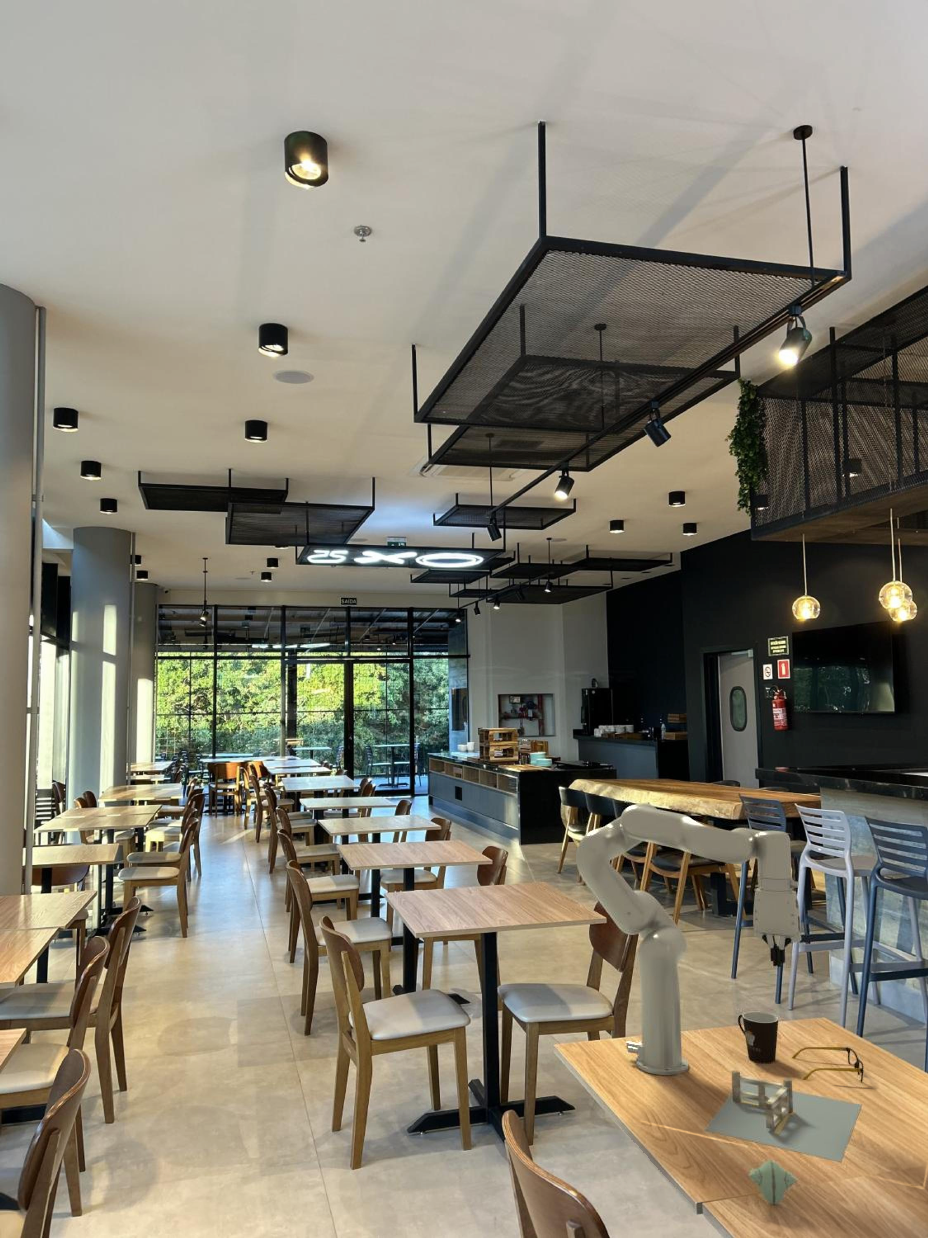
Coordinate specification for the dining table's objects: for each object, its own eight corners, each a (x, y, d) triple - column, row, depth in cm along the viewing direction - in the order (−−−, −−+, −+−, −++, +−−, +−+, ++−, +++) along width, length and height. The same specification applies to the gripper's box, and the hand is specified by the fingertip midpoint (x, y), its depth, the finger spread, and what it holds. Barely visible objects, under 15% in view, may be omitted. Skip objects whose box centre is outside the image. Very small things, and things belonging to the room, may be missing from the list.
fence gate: (783, 1110, 190) (782, 1086, 191) (789, 1111, 190) (788, 1088, 190) (766, 1128, 182) (765, 1103, 182) (772, 1129, 181) (771, 1104, 182)
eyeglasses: (868, 1086, 207) (867, 1068, 207) (802, 1082, 209) (801, 1064, 210) (852, 1063, 221) (851, 1046, 221) (791, 1059, 223) (790, 1043, 224)
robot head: (750, 1207, 154) (749, 1165, 155) (748, 1194, 158) (746, 1154, 159) (799, 1212, 152) (797, 1170, 153) (795, 1200, 156) (794, 1159, 157)
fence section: (731, 1101, 196) (730, 1071, 197) (733, 1098, 198) (732, 1068, 198) (792, 1114, 190) (790, 1082, 190) (793, 1111, 191) (792, 1080, 192)
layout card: (704, 1132, 182) (704, 1129, 182) (741, 1082, 208) (741, 1080, 208) (840, 1164, 169) (840, 1161, 169) (861, 1107, 194) (861, 1104, 194)
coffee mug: (785, 1065, 218) (783, 1023, 219) (749, 1065, 218) (748, 1022, 219) (769, 1048, 230) (767, 1008, 231) (736, 1048, 230) (734, 1008, 231)
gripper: (811, 885, 210) (814, 966, 207) (746, 879, 217) (749, 957, 215) (805, 890, 203) (808, 974, 201) (738, 884, 211) (741, 964, 209)
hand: (778, 965), depth 208 cm, fingers closed
